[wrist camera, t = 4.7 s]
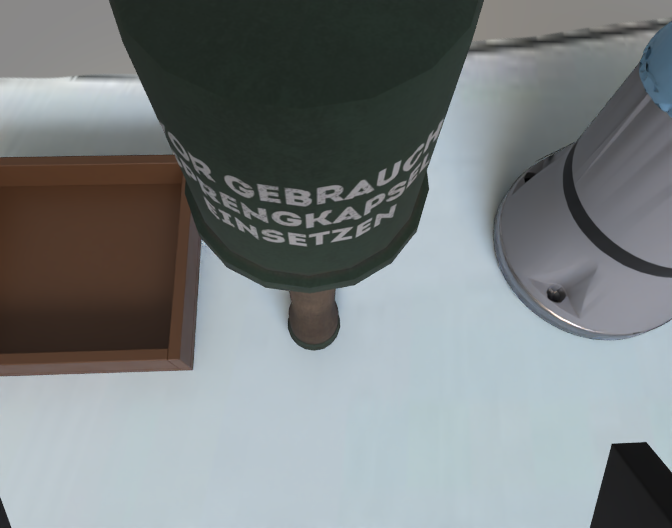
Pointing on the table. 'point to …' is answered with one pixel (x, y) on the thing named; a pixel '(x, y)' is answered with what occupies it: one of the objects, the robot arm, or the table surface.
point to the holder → (96, 265)
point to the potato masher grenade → (301, 129)
